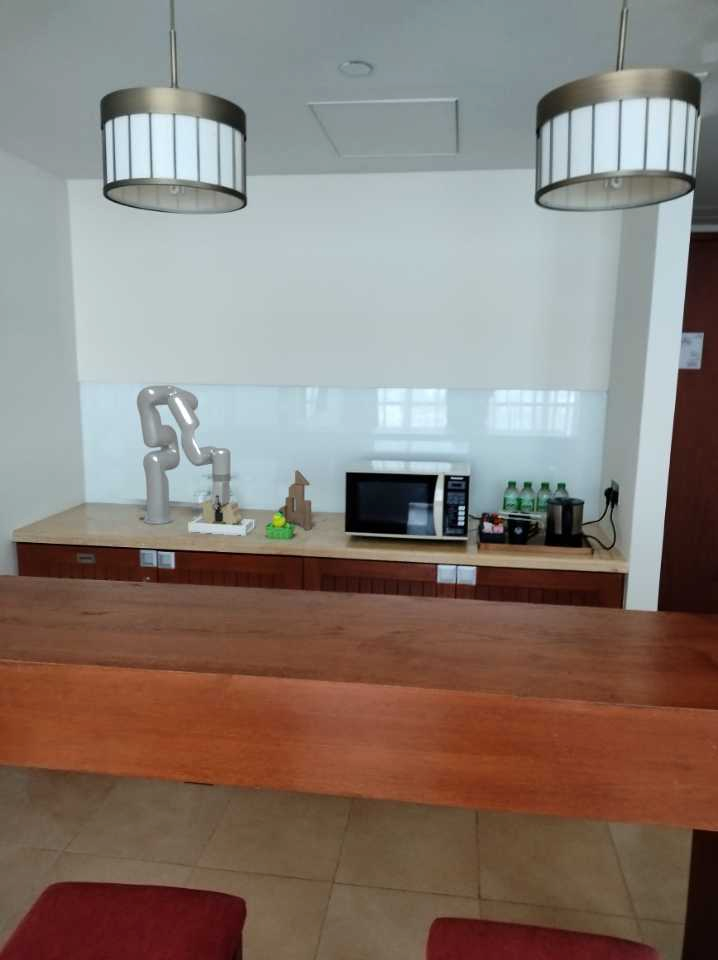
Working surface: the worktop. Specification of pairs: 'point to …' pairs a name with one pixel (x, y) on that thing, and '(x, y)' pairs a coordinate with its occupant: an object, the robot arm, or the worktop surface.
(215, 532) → the white tray
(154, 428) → the robot arm
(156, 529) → the worktop surface
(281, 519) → the fruit basket
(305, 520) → the wooden toy
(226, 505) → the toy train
